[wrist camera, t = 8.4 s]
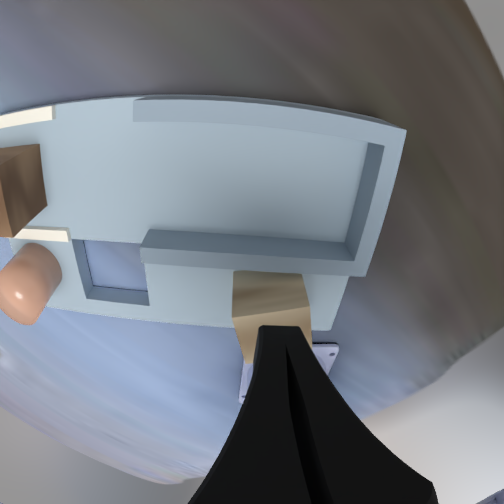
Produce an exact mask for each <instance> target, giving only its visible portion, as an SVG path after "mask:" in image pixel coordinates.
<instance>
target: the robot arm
mask: <svg viewBox="0 0 504 504" xmlns="http://www.w3.org/2000/svg"><path fill="white" fill-rule="evenodd" d="M338 351H339V346H338V345H337V344H312V349H311V347H310V345H309V343H308V342H307V340H306V338H305V336H304V334H303V332H302V330H301V328H300V327H299V326H277V325H262V326H260V327H259V328H258V334H257V340H256V346H255V353H254V359H253V363H250V364H246V363H245V360H244V361H243V368H242V376H241V384H240V391H239V402H240V403H243V404H242V407H241V409H240V412H239V414H238V417H237V419H236V421H235V424H234V426H233V428H232V430H231V432H230V434H229V436H228V438H227V440H226V442H225V444H224V446H223V448H222V450H221V452H220V454H219V456H218V457H217V459H216V461H215V462H214V464H213V466H212V468H211V469H210V471H209V473H208V474H207V476H206V478H205V479H204V481H203V482H202V484H201V485H200V487H199V488H198V490H197V491H196V493H195V494H194V495H193V497H192V498H191V500H190V501H189V502H188V504H438V499H437V495H436V492H435V489H434V486H433V483H432V482H431V481H429V480H427V479H426V478H425V477H423V476H421V475H420V474H419V473H417V472H416V471H415V470H413V469H412V468H411V467H409V466H408V465H407V464H405V463H404V462H403V461H402V460H400V459H399V458H398V457H397V456H396V455H394V454H393V453H392V452H391V451H390V450H389V449H388V448H387V447H386V446H385V445H384V444H383V443H382V442H381V441H379V440H378V439H377V438H376V437H375V436H374V435H373V434H372V433H371V431H370V430H369V429H368V428H367V427H366V426H365V425H364V424H363V423H362V422H361V420H360V419H359V418H358V417H357V416H356V415H355V413H354V412H353V411H352V410H351V408H350V407H349V406H348V405H347V403H346V402H345V401H344V399H343V398H342V396H341V395H340V394H339V392H338V391H337V389H336V388H335V387H334V385H333V384H332V382H331V381H330V379H329V377H328V373H329V371H330V369H331V367H332V365H333V362H334V360H335V358H336V356H337V354H338ZM0 504H3V503H1V502H0ZM476 504H504V489H502V490H501V491H498V492H496V493H494V494H493V495H491V496H489V497H487V498H486V499H484V500H482V501H480V502H478V503H476Z"/></svg>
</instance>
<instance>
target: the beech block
mask: <svg viewBox="0 0 504 504" xmlns="http://www.w3.org/2000/svg"><path fill="white" fill-rule="evenodd" d="M232 321H233V324H234V327H235V331H236V334H237V337H238V341H239V344H240V347H241V350H242V354H243V357H244V360H245V363H246V364H250V363H253V359H254V353H255V346H256V340H257V334H258V328H259V327H260V326H262V325H277V326H299V327H300V328H301V330H302V332H303V334H304V336H305V338H306V340H307V342H308V343H309V345H310V347H311V349H312V332H311V314H310V304H309V300H308V296H307V292H306V288H305V285H304V281H303V277H302V274H298V273H280V272H263V271H247V270H241V271H234V272H233V290H232Z"/></svg>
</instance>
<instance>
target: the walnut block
mask: <svg viewBox="0 0 504 504" xmlns="http://www.w3.org/2000/svg"><path fill="white" fill-rule="evenodd" d="M47 206H48V205H47V199H46V192H45V186H44V179H43V171H42V162H41V152H40V144H31V145H21V146H13V147H5V148H0V237H8V238H14V237H15V236H16V235H17V234H18V233H19V232H20V231H21V230H22V229H23V228H24V227H25V226H26V225H27V224H28V223H29V222H30V221H31V220H32V219H33V218H34V217H35V216H37V215H38V214H39V213H40V212H41V211H42V210H43V209H44V208H45V207H47Z"/></svg>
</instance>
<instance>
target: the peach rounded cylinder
mask: <svg viewBox="0 0 504 504" xmlns="http://www.w3.org/2000/svg"><path fill="white" fill-rule="evenodd" d="M61 280H62V270H61V267H60V264H59V262H58V261H57V259H56V257H55V256H54V255H53V254H52V253H51V252H50V251H49V250H48V249H47V248H45V247H44V246H42V245H40V244H37V243H27V244H25V245H24V246H23V247H22V248H21V249H20V250H19V251H18V252H17V253H16V254H15V255H14V256H13V258H12V259H11V260H10V261H9V262H8V263H7V264H6V266H5V267H4V268H3V269H2V270H1V271H0V308H1V310H2V311H3V312H4V313H5V314H6V315H7V316H9V317H10V318H11V319H13V320H14V321H16V322H18V323H20V324H23V325H32V324H34V323H35V322H36V321H37V319H38V317H39V316H40V314H41V312H42V311H43V309H44V308H45V306H46V304H47V303H48V301H49V300H50V298H51V296H52V295H53V293H54V292H55V290H56V289H57V287H58V286H59V284H60V282H61Z"/></svg>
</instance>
